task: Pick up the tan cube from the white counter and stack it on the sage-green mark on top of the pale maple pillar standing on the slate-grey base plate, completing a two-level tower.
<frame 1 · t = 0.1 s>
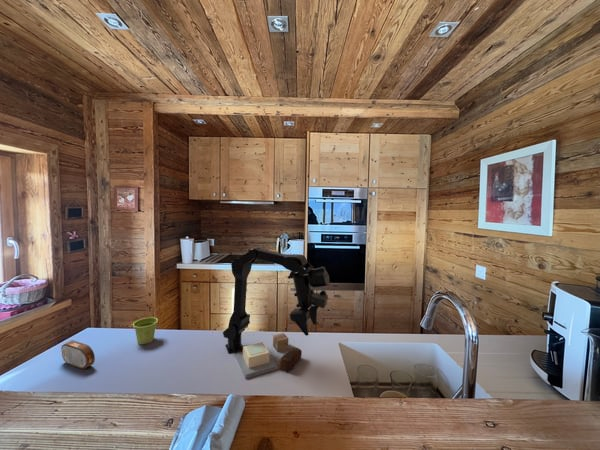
hand: (311, 329, 93), 15 cm above the table, tool pointing down, fingers open, 9 cm apart
tan cube: (280, 347, 108), on the table
plant pot: (145, 341, 110), on the table
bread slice: (77, 365, 92), on the table
foundation: (255, 363, 96), on the table
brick: (290, 365, 96), on the table
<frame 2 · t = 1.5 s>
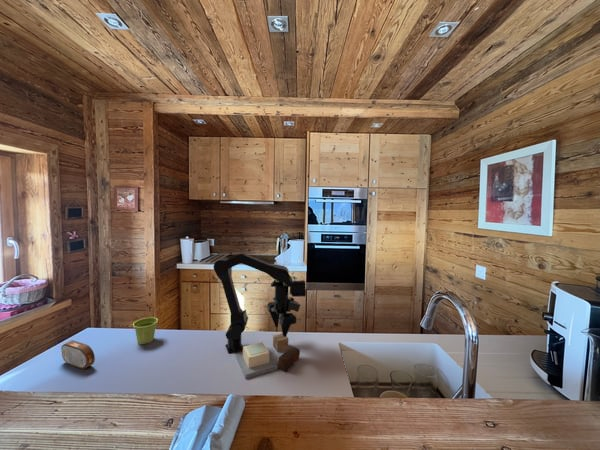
hand: (280, 331, 107), 7 cm above the table, tool pointing down, fingers open, 9 cm apart
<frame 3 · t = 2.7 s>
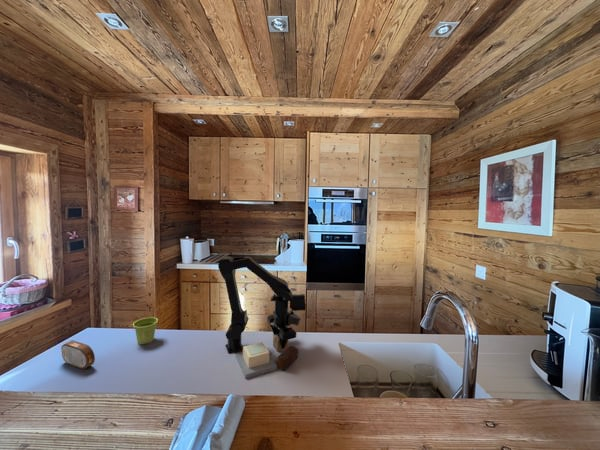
hand: (280, 345, 108), 1 cm above the table, tool pointing down, fingers closed on tan cube, 5 cm apart
tan cube: (280, 347, 108), on the table, touching gripper
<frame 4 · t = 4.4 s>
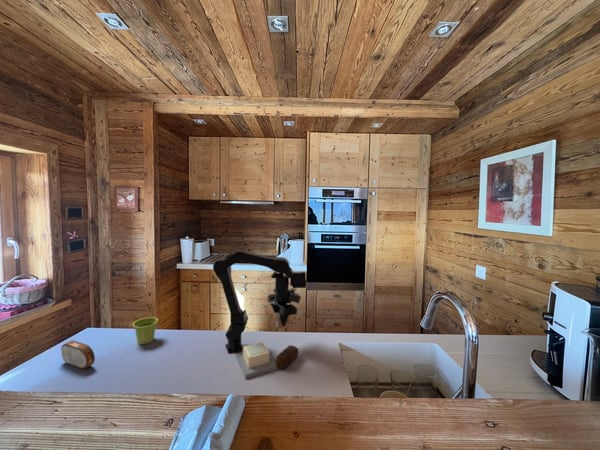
hand: (281, 323, 107), 11 cm above the table, tool pointing down, fingers closed on tan cube, 5 cm apart
tan cube: (281, 325, 107), point 10 cm above the table, touching gripper
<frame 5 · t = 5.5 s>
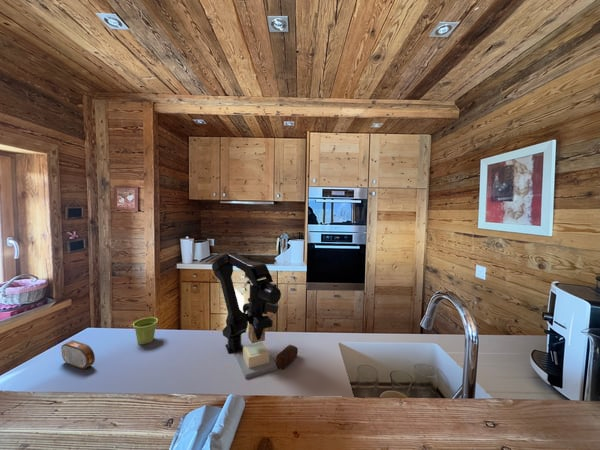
hand: (256, 336, 96), 11 cm above the table, tool pointing down, fingers closed on tan cube, 5 cm apart
tan cube: (256, 338, 96), point 10 cm above the table, touching gripper
when the fingers open (7 cm above the table, at t = 6.5 s): tan cube stays where it is, resting on foundation.
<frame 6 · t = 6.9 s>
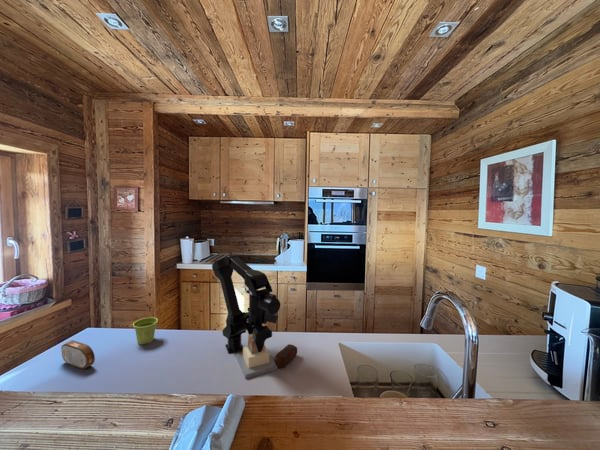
hand: (256, 345, 96), 7 cm above the table, tool pointing down, fingers open, 9 cm apart
tan cube: (256, 348, 96), point 6 cm above the table, touching foundation
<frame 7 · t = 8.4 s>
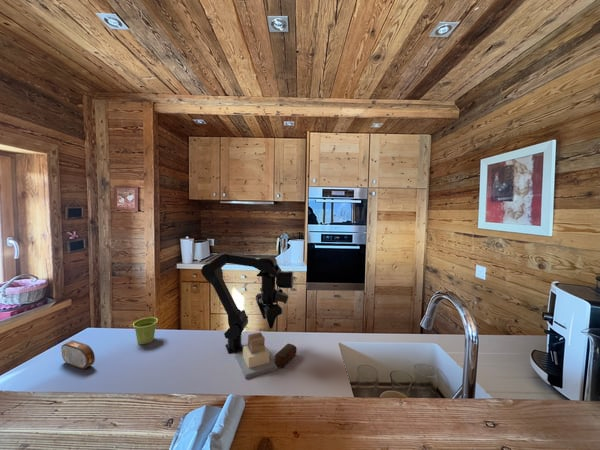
hand: (267, 323, 104), 12 cm above the table, tool pointing down, fingers open, 9 cm apart
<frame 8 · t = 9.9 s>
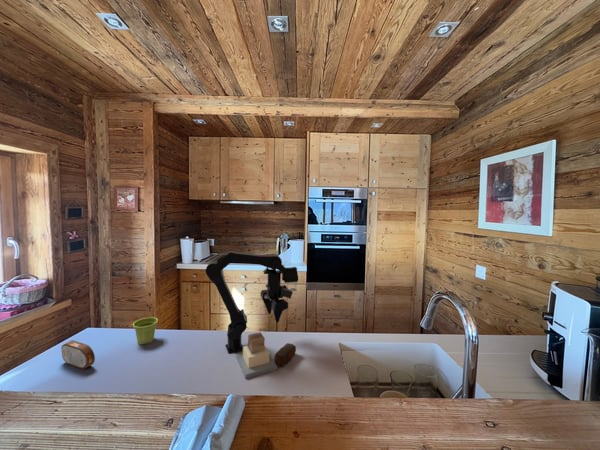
hand: (273, 317, 110), 12 cm above the table, tool pointing down, fingers open, 9 cm apart
at the end: tan cube 0.0 cm off-centre on the foundation, point 5.7 cm above the foundation's base; tan cube tilted 0°; the gripper is holding nothing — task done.
